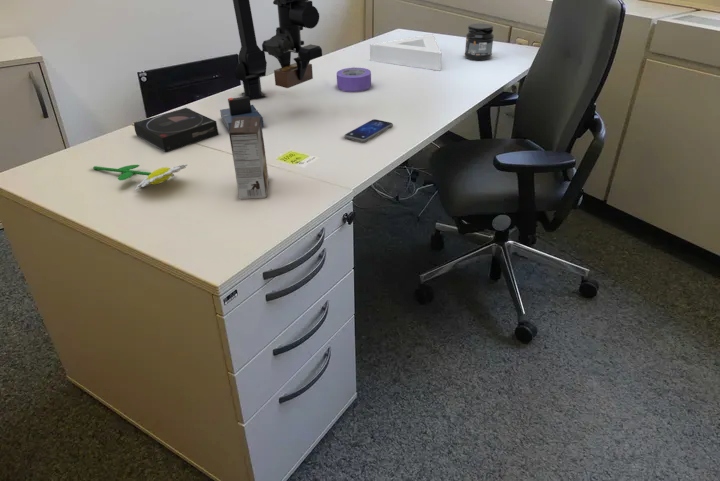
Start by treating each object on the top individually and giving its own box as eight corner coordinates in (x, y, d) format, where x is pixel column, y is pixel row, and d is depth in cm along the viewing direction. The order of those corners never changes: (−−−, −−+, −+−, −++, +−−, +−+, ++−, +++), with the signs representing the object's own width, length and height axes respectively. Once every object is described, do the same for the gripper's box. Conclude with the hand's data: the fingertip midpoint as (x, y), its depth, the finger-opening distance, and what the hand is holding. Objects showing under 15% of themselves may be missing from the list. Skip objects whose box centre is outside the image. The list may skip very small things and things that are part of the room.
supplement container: (475, 52, 224) (478, 21, 218) (496, 57, 218) (500, 25, 211) (458, 57, 218) (461, 25, 212) (480, 62, 212) (483, 30, 205)
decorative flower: (76, 187, 135) (160, 199, 121) (69, 169, 133) (154, 179, 118) (119, 170, 145) (201, 179, 130) (113, 152, 143) (196, 159, 128)
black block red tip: (250, 110, 163) (248, 95, 161) (251, 112, 162) (249, 96, 159) (230, 113, 161) (227, 98, 159) (231, 115, 160) (229, 100, 158)
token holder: (300, 76, 168) (299, 60, 166) (313, 78, 166) (311, 62, 163) (275, 85, 161) (273, 68, 158) (287, 88, 158) (286, 71, 156)
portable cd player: (187, 119, 167) (185, 107, 164) (218, 134, 156) (216, 121, 154) (136, 135, 157) (132, 122, 155) (165, 152, 147) (162, 138, 145)
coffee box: (242, 181, 132) (232, 116, 123) (269, 179, 132) (261, 115, 123) (238, 199, 124) (227, 132, 115) (267, 198, 124) (258, 130, 115)
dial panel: (221, 119, 166) (219, 109, 165) (254, 114, 170) (253, 104, 168) (229, 133, 157) (227, 122, 155) (264, 127, 160) (263, 116, 159)
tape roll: (331, 90, 188) (330, 75, 185) (345, 80, 197) (344, 66, 194) (363, 93, 184) (363, 78, 181) (376, 83, 193) (376, 68, 190)
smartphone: (342, 135, 152) (373, 118, 162) (342, 138, 152) (373, 121, 162) (364, 140, 148) (394, 122, 158) (364, 143, 148) (394, 126, 159)
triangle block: (440, 70, 204) (441, 53, 201) (370, 71, 205) (370, 54, 201) (432, 49, 229) (433, 34, 226) (370, 51, 230) (369, 35, 226)
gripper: (245, 24, 154) (252, 80, 162) (294, 32, 144) (299, 91, 153) (273, 17, 161) (278, 71, 170) (321, 24, 152) (324, 81, 160)
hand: (294, 78), depth 163 cm, fingers closed on token holder, 5 cm apart
